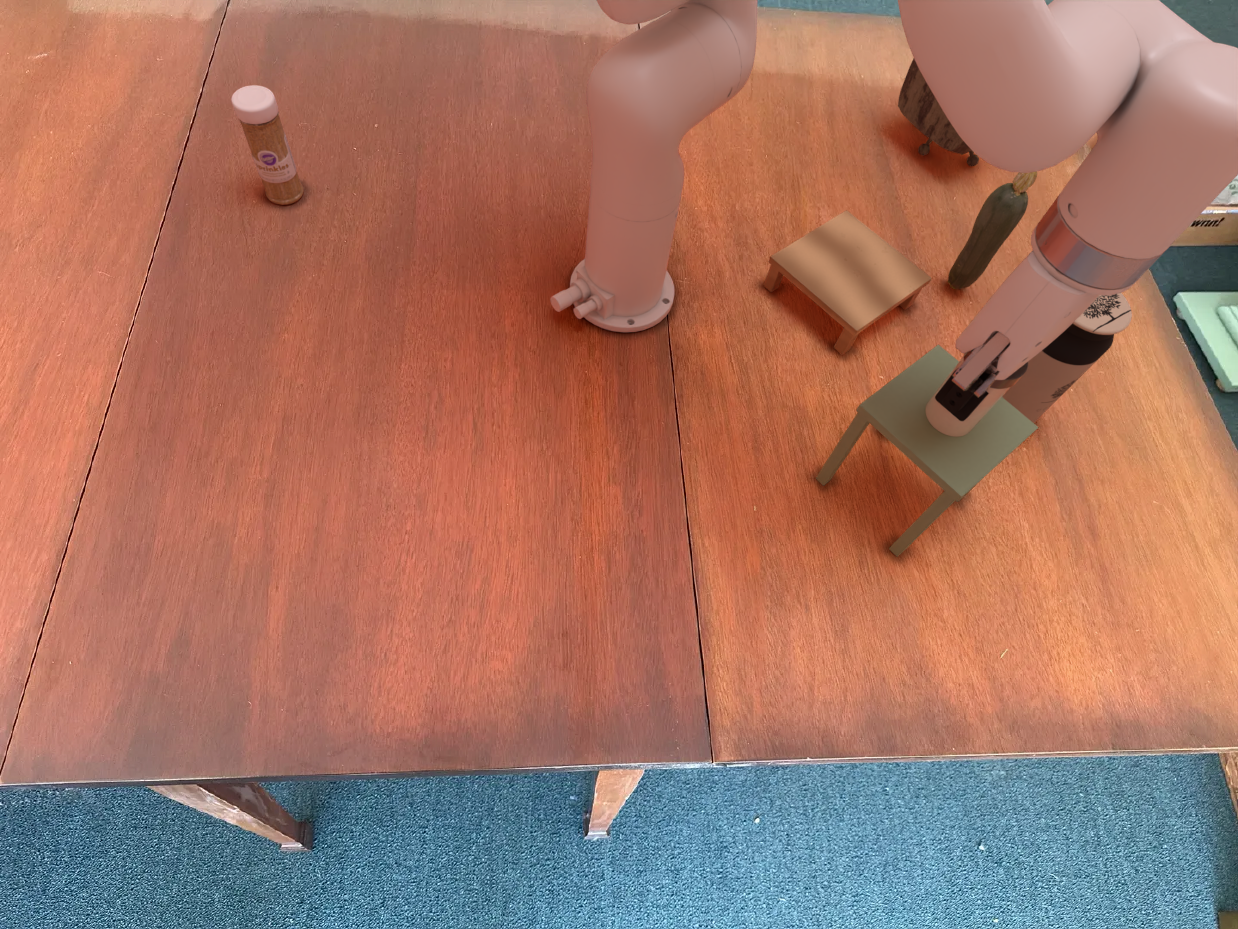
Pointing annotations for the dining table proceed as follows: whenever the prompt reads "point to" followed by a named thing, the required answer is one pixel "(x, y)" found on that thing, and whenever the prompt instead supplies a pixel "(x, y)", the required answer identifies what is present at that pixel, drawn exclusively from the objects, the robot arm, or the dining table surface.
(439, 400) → the dining table surface
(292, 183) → the sprinkles bottle
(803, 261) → the low shelf
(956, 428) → the spice jar
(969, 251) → the vegetable
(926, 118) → the tabletop clock
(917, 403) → the tall stand
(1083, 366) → the travel mug
